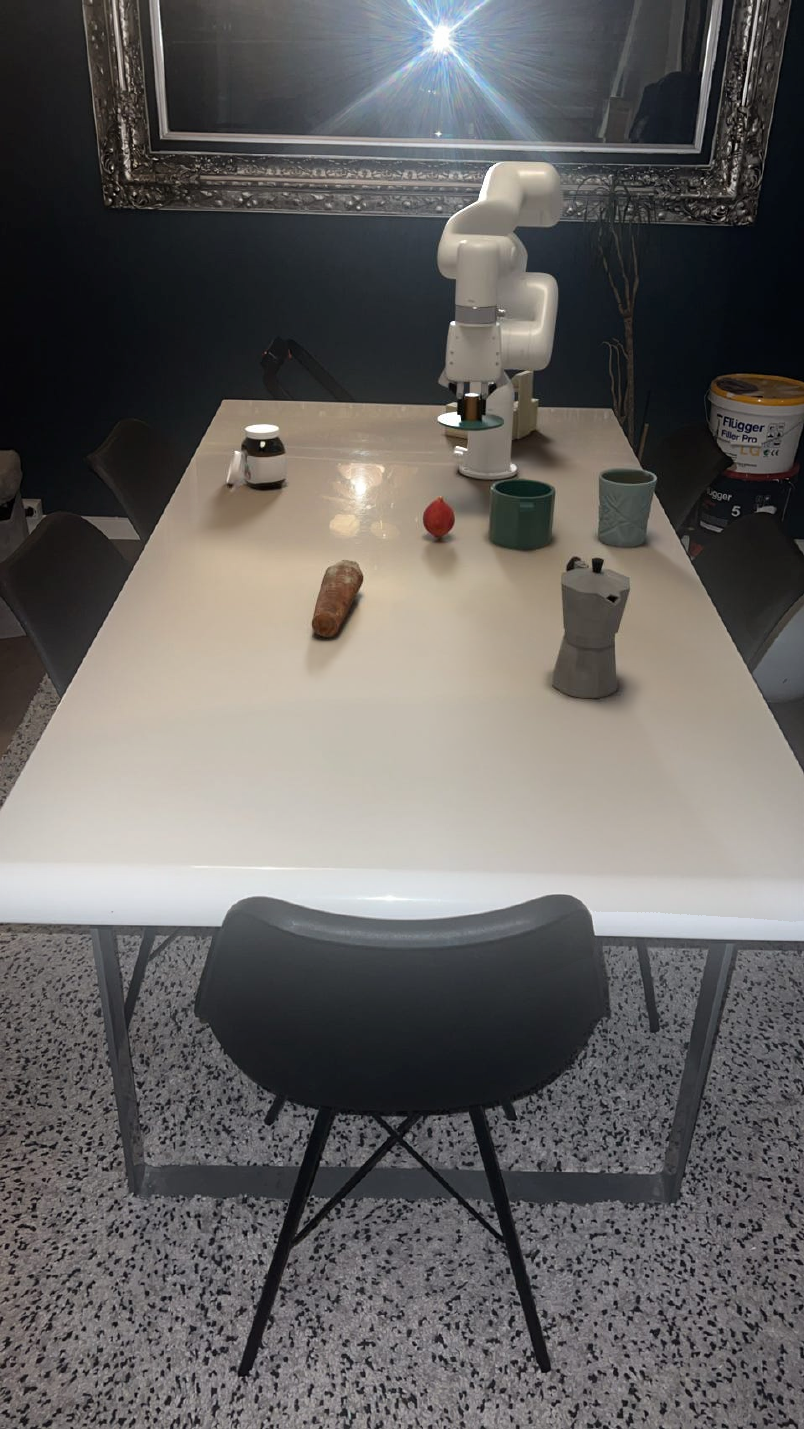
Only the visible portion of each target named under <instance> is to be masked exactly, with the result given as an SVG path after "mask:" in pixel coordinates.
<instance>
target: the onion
mask: <svg viewBox="0 0 804 1429" xmlns="http://www.w3.org/2000/svg"><path fill="white" fill-rule="evenodd" d="M455 520H456V518H455V512H454V510H453V508H452V506H450V505H449V504H448V503H447V502H445V501H444V498H443V496H442V495H440V496H438V497H437V498H435V500H433V501H431V503H430V504H429V505H428V506H427V507H426V508H425V509H424V511H423V514H422V523H423V527H424V529H425V530H426V531H427V532H428V533H429V534H430V535H432V536H433V537H434V538H436V539H442V538H444V536H446V535H447V534H448V533H449V532H450V531H452V529H453V528H454V525H455V522H456V521H455Z"/></svg>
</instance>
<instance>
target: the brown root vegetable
mask: <svg viewBox="0 0 804 1429" xmlns="http://www.w3.org/2000/svg"><path fill="white" fill-rule="evenodd" d="M363 583H364V574H363V572H362V570H361V568H360V565H359V563H358V562H357V561H355V560H354V561H353V560H348V559H342V560H341V561H338V562H336V563H334V564H333V565H331V566H330V565H329V567H327V568H326V569H325V573H324V575H323V577H322V580H321V584H320V589H319V592H318V594H317V598H316V601H315V606H314V610H313V616H312V620H311V628H312V630H313V632H314V633H316V634H317V635H319V636H321V637H324V638H329V637H333V636H335V635H336V634H337V633H338V631H339V629H340V626H341V624H342V623H343V622H344V620H345V618H346V617H347V614H348V611H349V610H350V609H351V606H352V603H353V602H354V600H355V598H356V597H357V595H358V593H359V591H360V589H361V587H362V585H363Z"/></svg>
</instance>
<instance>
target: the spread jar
mask: <svg viewBox="0 0 804 1429" xmlns="http://www.w3.org/2000/svg"><path fill="white" fill-rule="evenodd" d="M244 431H245V438H244V439H243V441H242V443H241V448H240V451H237V450H234V451H233V453H232V456H231V460H230V463H229V467H228V471H227V477H226V483H227V484H230V485H235V483H236V480H237V476H238V473H239V469H240V466H241V470H242V475H243V476H242V477H243V478H244V481H245V482H246V484H247V485H248V486H249V487H250V488H252V489H258V490H271V489H276V488H278V487H280V486H282V485H283V484H284V483H285V482H286V480H287V477H288V476H287V474H288V470H287V453H286V452H287V451H286V447H285V445H284V443H283V441H282V440H281V438H280V437H279V436H280V429H279V427H278V426H277V425H273V424H252V425H248V426H247V427H245V430H244Z"/></svg>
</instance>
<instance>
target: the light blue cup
mask: <svg viewBox="0 0 804 1429" xmlns="http://www.w3.org/2000/svg"><path fill="white" fill-rule="evenodd" d="M657 482H658V477H657V476H656V474H654V472H653V473H652V471H648V470H646V469H640V468H634V467H614V468H613V467H612V468H608V469H604V470H602V471H600V472H599V474H598V501H599V504H598V525H597V526H598V527H597V538H598V540H599V541H600V542H601V543H603V544H605V545H608V546H612V547H616V548H617V547H619V548H633V547H639V546H641V545H642V544H644V542H645V541H646V536H647V530H648V522H649V518H650V514H651V508H652V502H653V499H654V495H655V490H656V485H657Z"/></svg>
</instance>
